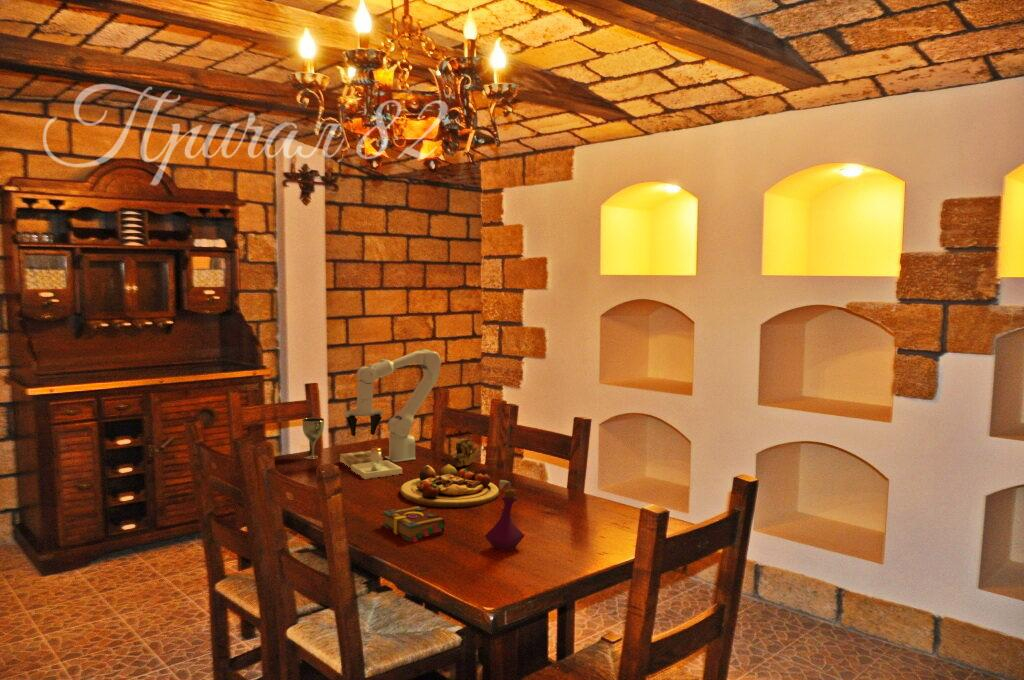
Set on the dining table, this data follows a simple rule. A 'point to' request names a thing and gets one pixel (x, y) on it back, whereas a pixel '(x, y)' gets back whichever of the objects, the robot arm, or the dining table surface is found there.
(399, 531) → the decorative book
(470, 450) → the wooden carving
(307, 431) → the wine glass
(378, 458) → the peg
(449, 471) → the wooden plate with food
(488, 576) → the dining table surface
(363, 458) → the hitch block
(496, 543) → the perfume bottle
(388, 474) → the tray
